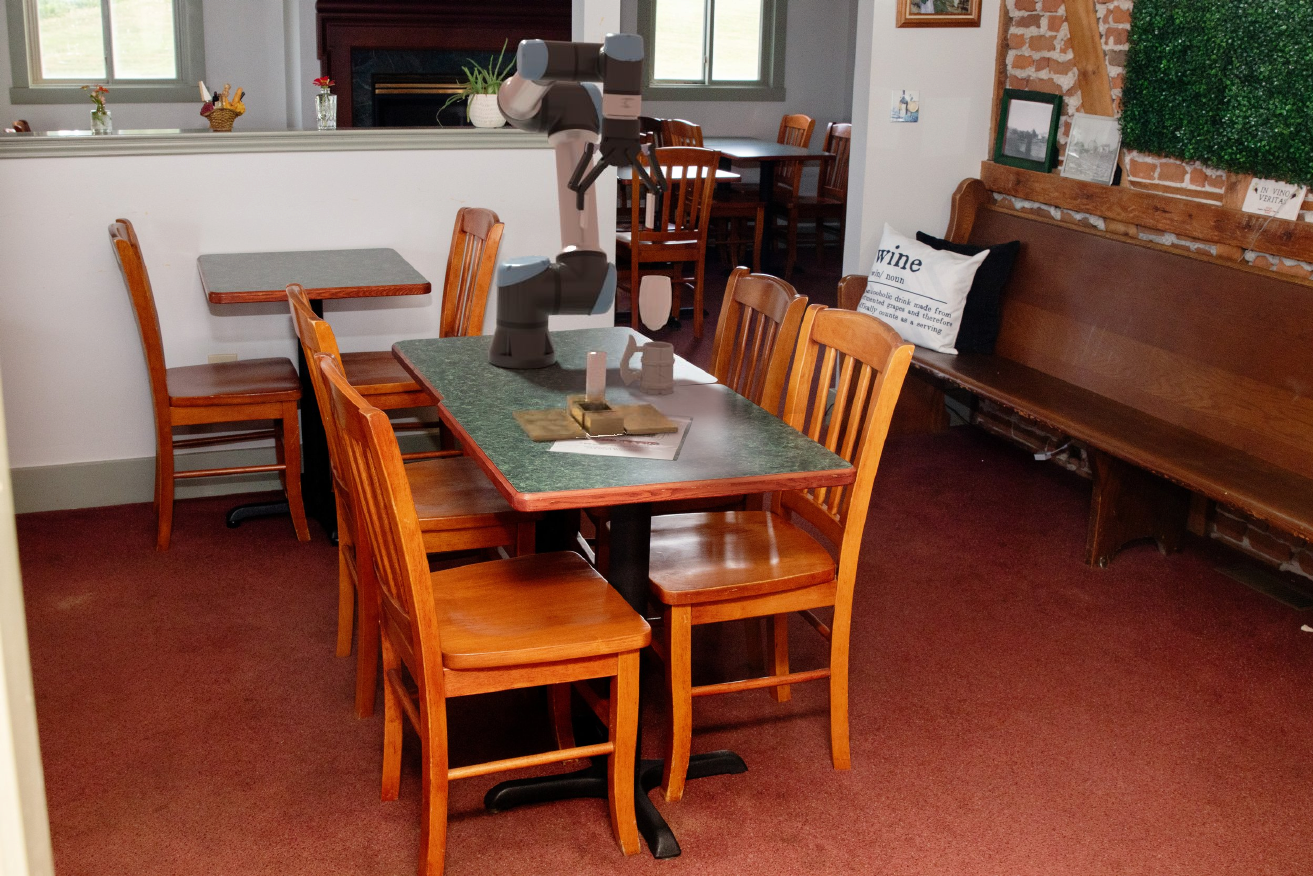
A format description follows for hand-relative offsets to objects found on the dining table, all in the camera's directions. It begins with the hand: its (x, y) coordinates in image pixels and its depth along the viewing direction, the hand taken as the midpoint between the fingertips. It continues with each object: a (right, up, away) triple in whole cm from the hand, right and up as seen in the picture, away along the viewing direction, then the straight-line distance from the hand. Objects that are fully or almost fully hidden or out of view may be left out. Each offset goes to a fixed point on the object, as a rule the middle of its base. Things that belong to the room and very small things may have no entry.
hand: (616, 227), depth 246 cm
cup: (+7, -27, +32) cm, 42 cm away
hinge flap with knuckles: (+1, -39, -10) cm, 40 cm away
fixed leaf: (-9, -40, -13) cm, 43 cm away
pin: (-4, -39, -12) cm, 41 cm away
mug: (+6, -32, +14) cm, 36 cm away
